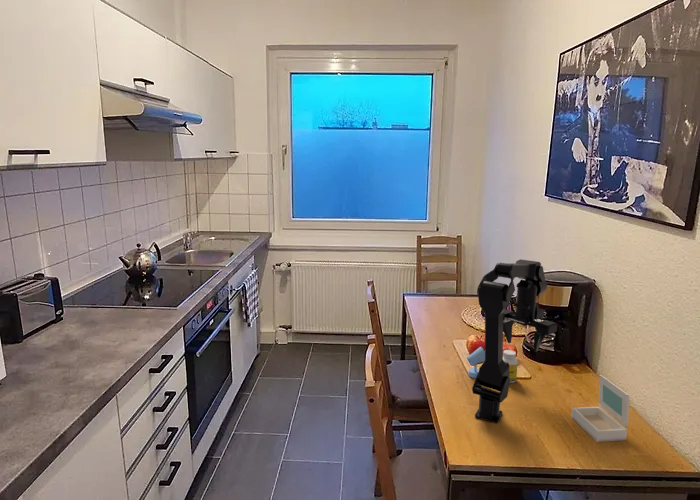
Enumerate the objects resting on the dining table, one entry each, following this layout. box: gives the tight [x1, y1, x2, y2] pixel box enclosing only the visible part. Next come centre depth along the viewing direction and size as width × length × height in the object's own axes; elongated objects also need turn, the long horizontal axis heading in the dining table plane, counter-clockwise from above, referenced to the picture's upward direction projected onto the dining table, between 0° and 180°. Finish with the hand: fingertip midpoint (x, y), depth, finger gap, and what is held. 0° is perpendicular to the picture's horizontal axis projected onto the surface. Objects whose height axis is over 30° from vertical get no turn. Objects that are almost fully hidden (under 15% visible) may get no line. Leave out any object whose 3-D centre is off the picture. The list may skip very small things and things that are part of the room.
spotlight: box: [466, 346, 485, 379], centre depth 160 cm, size 5×10×7 cm
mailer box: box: [571, 405, 628, 443], centre depth 129 cm, size 8×12×3 cm, turn 5°
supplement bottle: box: [503, 349, 519, 384], centre depth 157 cm, size 5×5×10 cm
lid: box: [598, 374, 630, 429], centre depth 128 cm, size 9×12×1 cm
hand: (522, 347), depth 151 cm, fingers open, 9 cm apart
